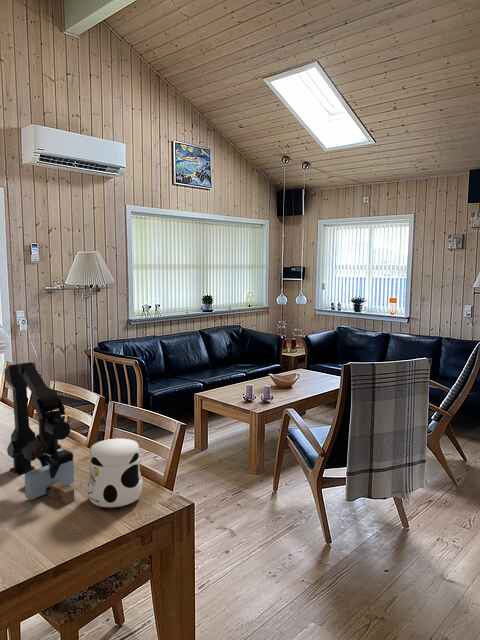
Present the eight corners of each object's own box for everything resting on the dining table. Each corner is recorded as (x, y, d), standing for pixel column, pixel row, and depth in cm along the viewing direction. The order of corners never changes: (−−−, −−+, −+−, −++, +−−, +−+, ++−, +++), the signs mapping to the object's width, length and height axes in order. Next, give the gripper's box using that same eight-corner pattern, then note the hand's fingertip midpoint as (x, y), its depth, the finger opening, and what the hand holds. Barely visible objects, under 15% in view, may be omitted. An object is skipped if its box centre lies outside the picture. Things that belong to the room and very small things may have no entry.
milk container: (77, 500, 160) (75, 447, 158) (121, 483, 173) (121, 433, 171) (108, 519, 149) (107, 462, 147) (153, 499, 162) (153, 446, 160)
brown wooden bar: (28, 484, 171) (27, 473, 170) (36, 481, 173) (35, 470, 173) (66, 504, 158) (65, 492, 157) (74, 500, 160) (74, 488, 160)
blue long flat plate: (25, 497, 160) (24, 473, 159) (68, 479, 173) (68, 457, 172) (30, 500, 158) (29, 476, 157) (73, 482, 171) (73, 460, 170)
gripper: (9, 431, 162) (11, 477, 164) (42, 445, 151) (43, 493, 153) (40, 422, 171) (42, 466, 173) (73, 435, 160) (75, 481, 162)
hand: (49, 476), depth 165 cm, fingers closed on blue long flat plate, 3 cm apart
